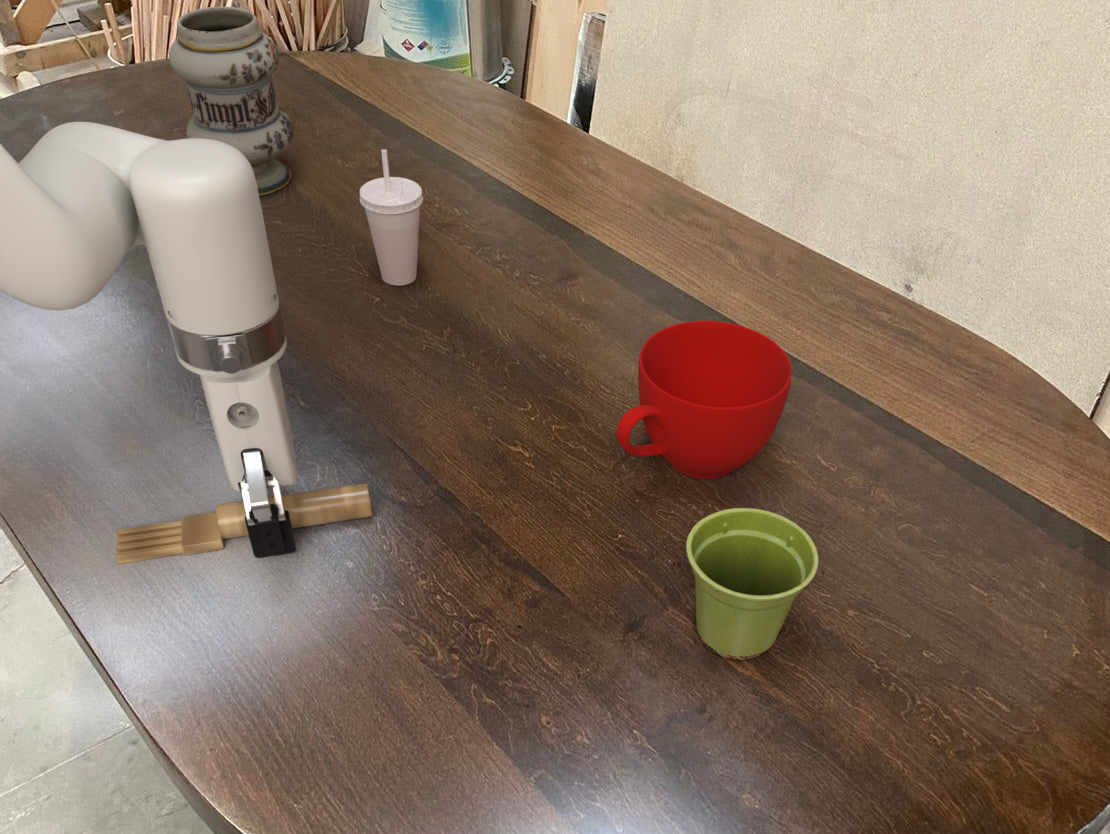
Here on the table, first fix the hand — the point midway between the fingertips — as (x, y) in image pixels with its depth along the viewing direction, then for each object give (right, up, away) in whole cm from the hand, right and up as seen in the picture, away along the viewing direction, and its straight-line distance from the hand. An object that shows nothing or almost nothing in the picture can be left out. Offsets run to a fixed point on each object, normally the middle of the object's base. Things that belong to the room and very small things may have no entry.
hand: (270, 512), depth 87 cm
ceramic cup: (+34, +5, +9) cm, 36 cm away
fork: (-2, -1, +1) cm, 3 cm away
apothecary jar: (-16, +44, +43) cm, 63 cm away
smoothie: (+5, +28, +29) cm, 40 cm away
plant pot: (+37, -10, -4) cm, 39 cm away
